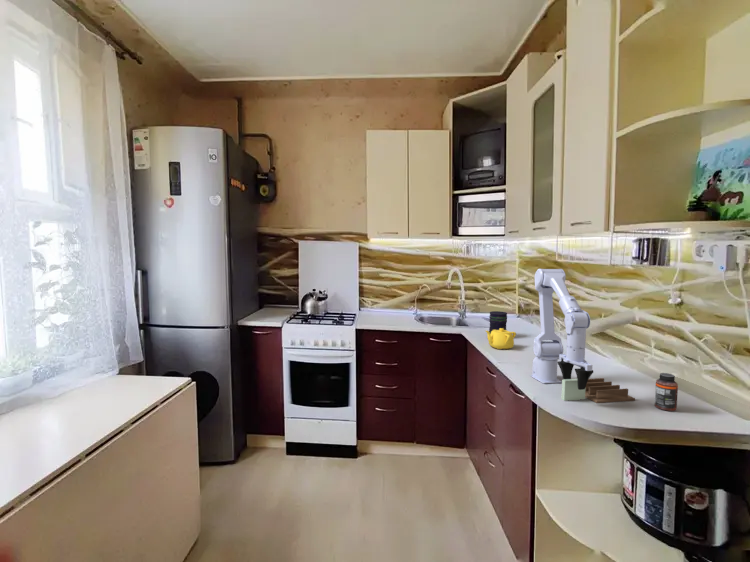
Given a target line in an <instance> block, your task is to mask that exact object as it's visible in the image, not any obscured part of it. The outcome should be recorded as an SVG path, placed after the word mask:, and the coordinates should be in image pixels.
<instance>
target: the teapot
mask: <svg viewBox="0 0 750 562" xmlns="http://www.w3.org/2000/svg"><path fill="white" fill-rule="evenodd" d="M485 333H486V334H487V341H488V344H489V346H490V347H492V348H495V349H497V350H502V349H504V350H510V349H513V347H514V345H515V337H516V335H517V333H516V331H509V330H504V329H503V328H499V330H492V331H491V334H490V332H489V330H485Z"/></svg>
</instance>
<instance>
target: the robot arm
mask: <svg viewBox="0 0 750 562" xmlns="http://www.w3.org/2000/svg"><path fill="white" fill-rule="evenodd" d="M534 273H535V274H534V289H535V291H537V292H538V302H539V304H538V305H539V319H540V320H539V321H540V333H539V334H538V335H537V336H535V337H534V338H533V348H532V350H533V353H534V355H535V357H534V358H533V360H532V369H531V370H532V373H531V375H529V376H530V377H532V378H533V379H535V380H536V381H539V382H540V383H542V384H556V383H557V384H559V383H560V384H562V380H560V379H559V378H558V376H557V375H558V367H559V369H560V371H561V375H562V379H572V373H573V369H574V371H575V374H576V375H575V376H576V379H577V384H578V389H579V390H583V389H585V387H586V384H587V381H588V379H591V376H592V375H593V374H594V370H593V364H591V363H589V362H588V361H587V360H586V359H585V357H586V338H587V329H589V327H590V325H591V316H590V315H589V314H590V313H588V311H585V310H584V309H582V308H581V307H580V304H579V303H578V301H577V299H576V297H575V296H574V295H571V294H570V293H569V290H568V287H567V285H566V279H567V278H566V277H567V276H566V272H565V271H564V269H563V268H538V269H537V270H536V271H535V272H534ZM553 293H555V294H556V296H557V298H558V299H559V301H558V305H559V307H560V309H561V312H562V313H563V315H564V320H563V321H564V326H565V332H566V351H565V353H564V345H563V342H562V338H561V337H560V336H559V335H557V334H556V332H555V322H554V321H555V316H554V302H553V301H554V300H553ZM559 360H560V361H559ZM574 366H576V367H578V368H574Z"/></svg>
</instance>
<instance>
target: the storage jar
mask: <svg viewBox="0 0 750 562" xmlns="http://www.w3.org/2000/svg"><path fill="white" fill-rule="evenodd" d="M488 321H489V328H488V331H489V332H490V334H491V331H492V330H499V328H503V329H504V330H507V323H508V312H506V311H500V310H499V311H496V310H495V311H489V320H488ZM507 331H508V330H507Z"/></svg>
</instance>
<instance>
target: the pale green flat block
mask: <svg viewBox="0 0 750 562" xmlns="http://www.w3.org/2000/svg"><path fill="white" fill-rule="evenodd" d="M561 381H562V382H561V396H560V397H561V398H560V399H561V400H562V401H563V402H565V401H567V402H568V400H569V401H581V400H580V399H585V400H586V397H585V390H586V387H585V389H583V390H579V389H578V384H577V378H571V379H563V378H562V380H561Z"/></svg>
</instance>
